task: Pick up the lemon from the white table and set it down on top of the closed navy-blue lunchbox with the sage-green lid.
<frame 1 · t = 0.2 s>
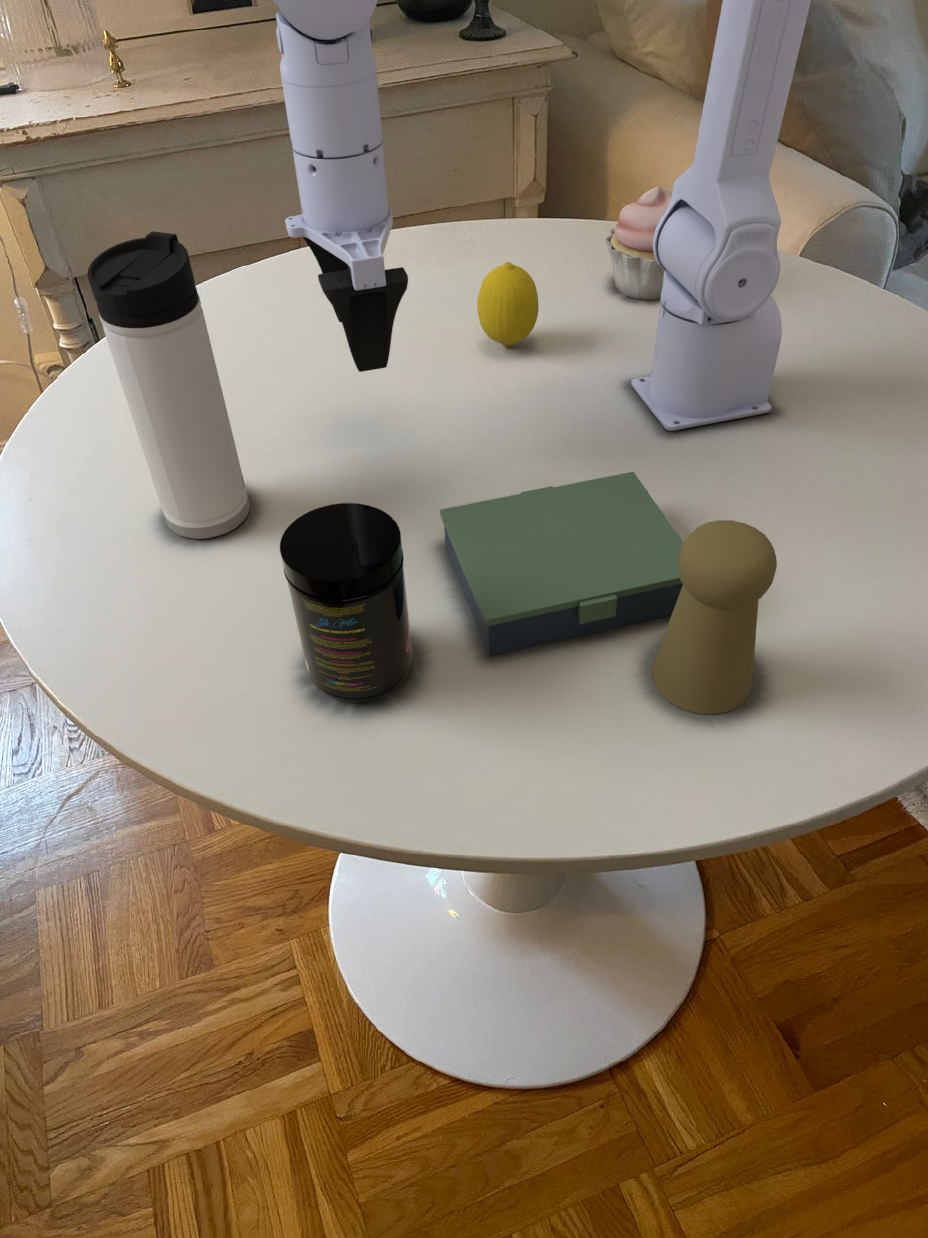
hand: (361, 342, 68), 10 cm above the table, tool pointing down, fingers open, 7 cm apart
cupcake: (646, 289, 95), on the table
lemon: (507, 348, 87), on the table
lunchbox: (563, 578, 64), on the table
travel mug: (210, 514, 71), on the table
brown pawn: (700, 678, 57), on the table
supplement container: (361, 669, 59), on the table
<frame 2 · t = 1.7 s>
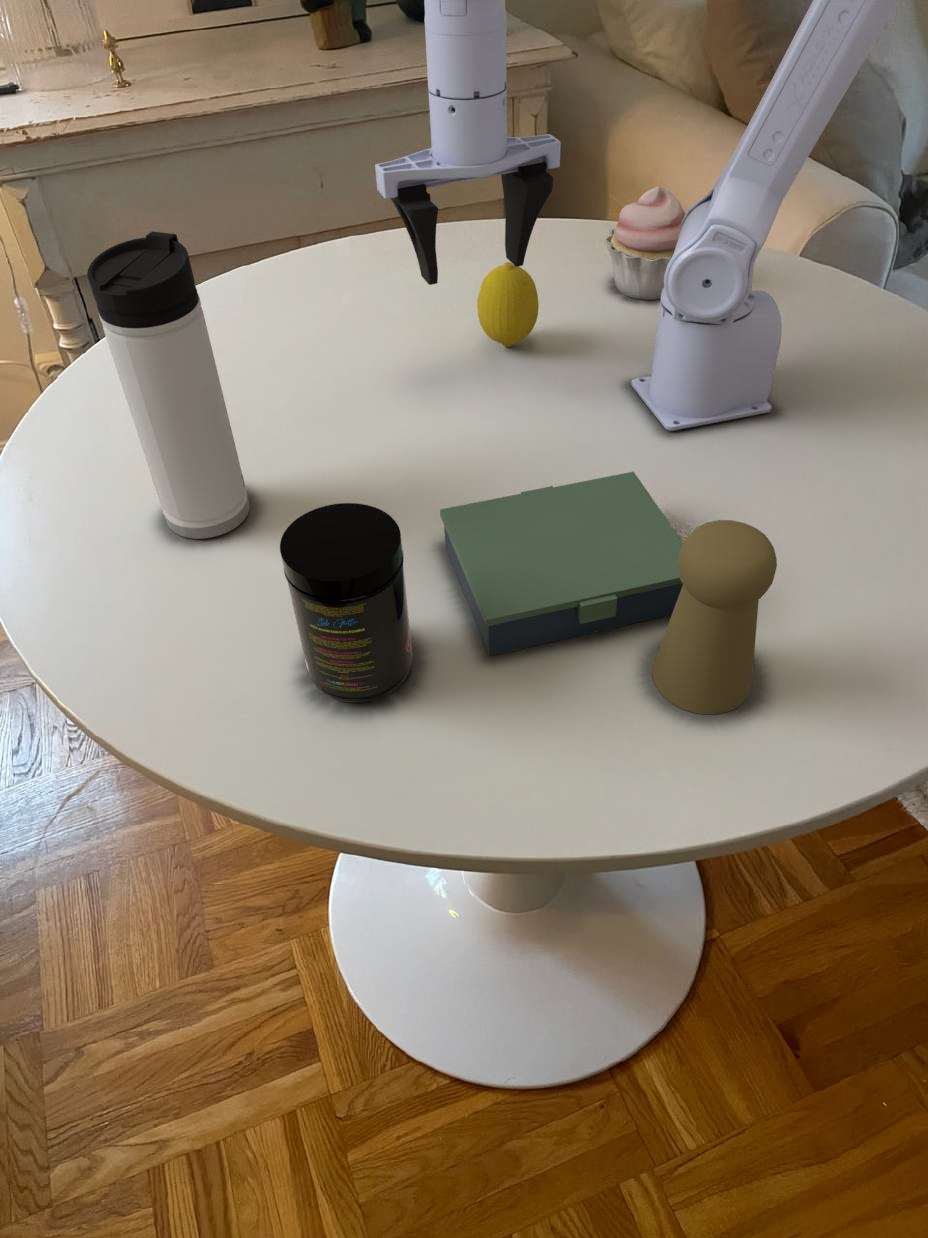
hand: (472, 270, 77), 10 cm above the table, tool pointing down, fingers open, 7 cm apart
nothing on the table moved.
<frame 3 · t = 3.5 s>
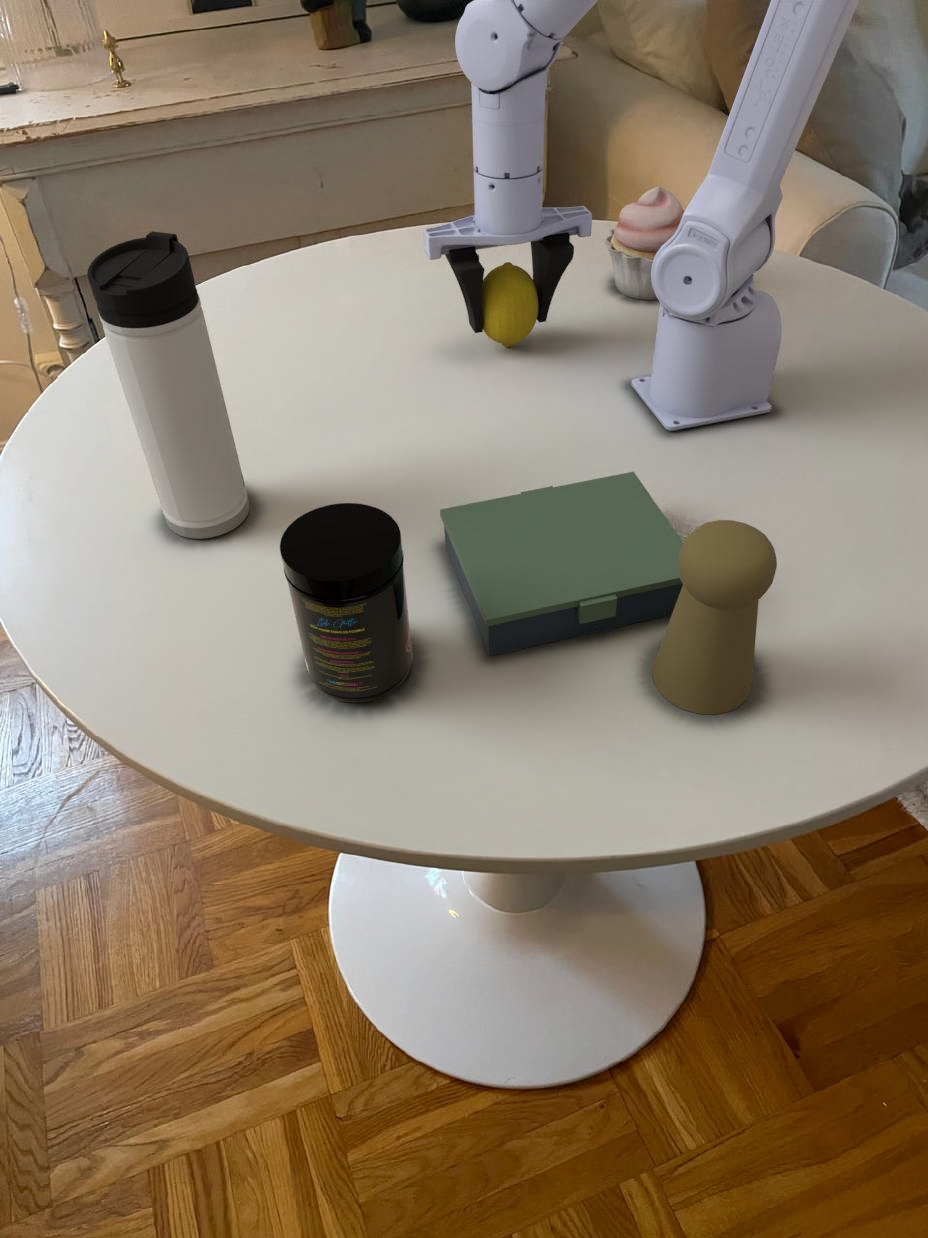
hand: (508, 322, 85), 2 cm above the table, tool pointing down, fingers closed on lemon, 5 cm apart
lemon: (507, 348, 87), on the table, touching gripper
everything else where it was.
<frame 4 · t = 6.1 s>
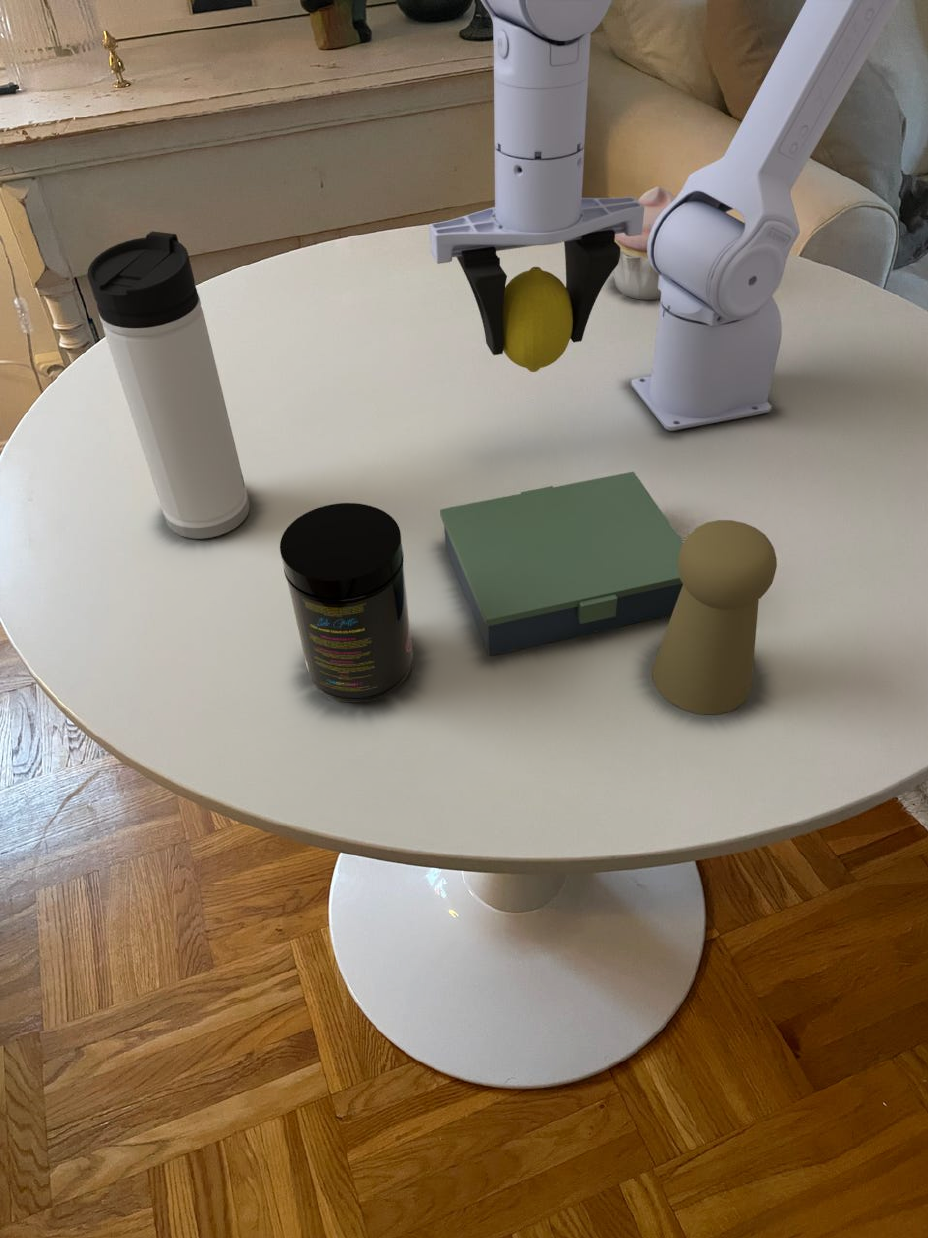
hand: (534, 341, 69), 9 cm above the table, tool pointing down, fingers closed on lemon, 5 cm apart
lemon: (533, 373, 70), point 7 cm above the table, touching gripper
everything else where it was.
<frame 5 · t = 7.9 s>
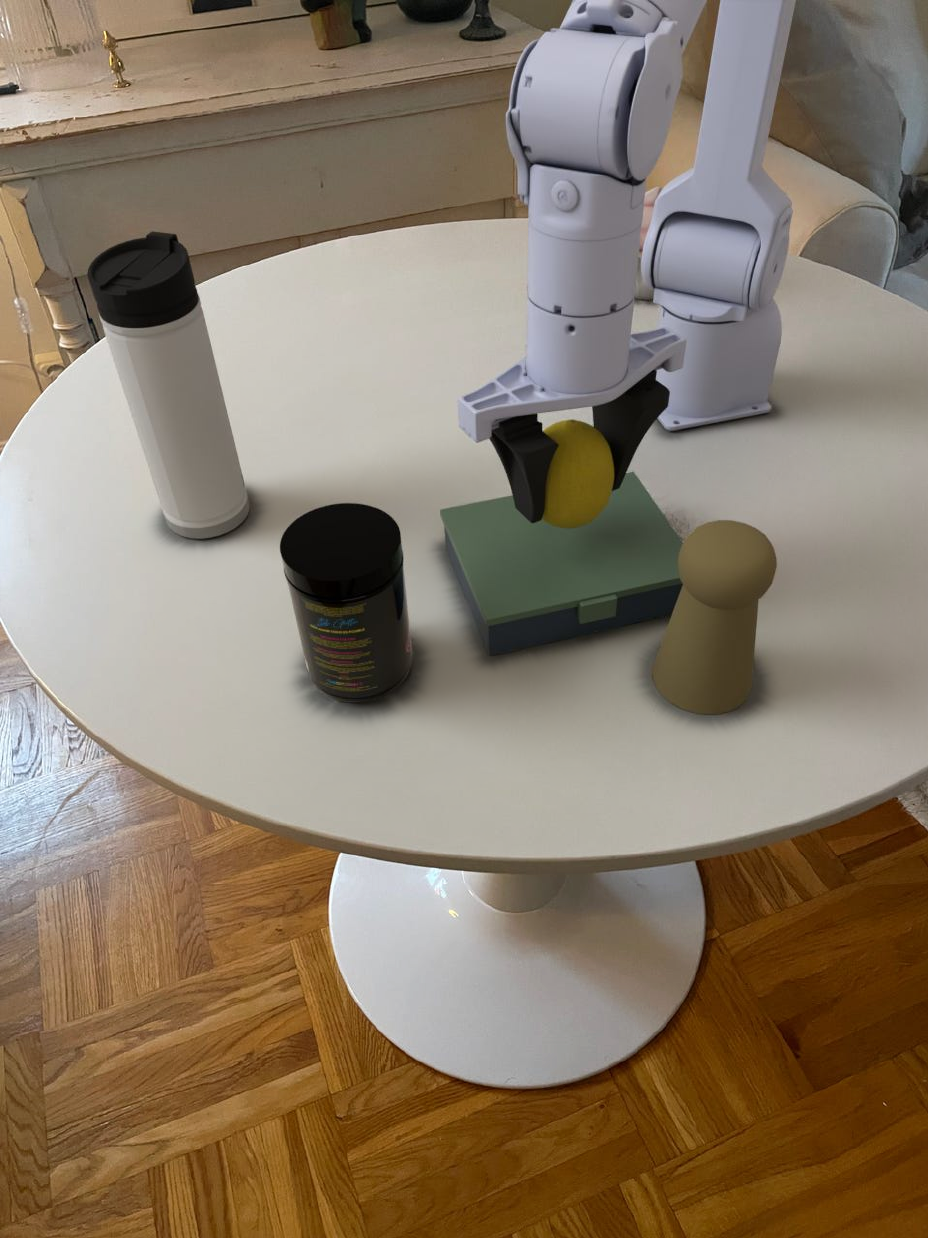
hand: (568, 497, 59), 7 cm above the table, tool pointing down, fingers closed on lemon, 5 cm apart
lemon: (566, 528, 61), point 4 cm above the table, touching gripper
everything else where it was.
when the fingers open (6 cm above the table, at t = 8.9 s): lemon stays where it is, resting on lunchbox.
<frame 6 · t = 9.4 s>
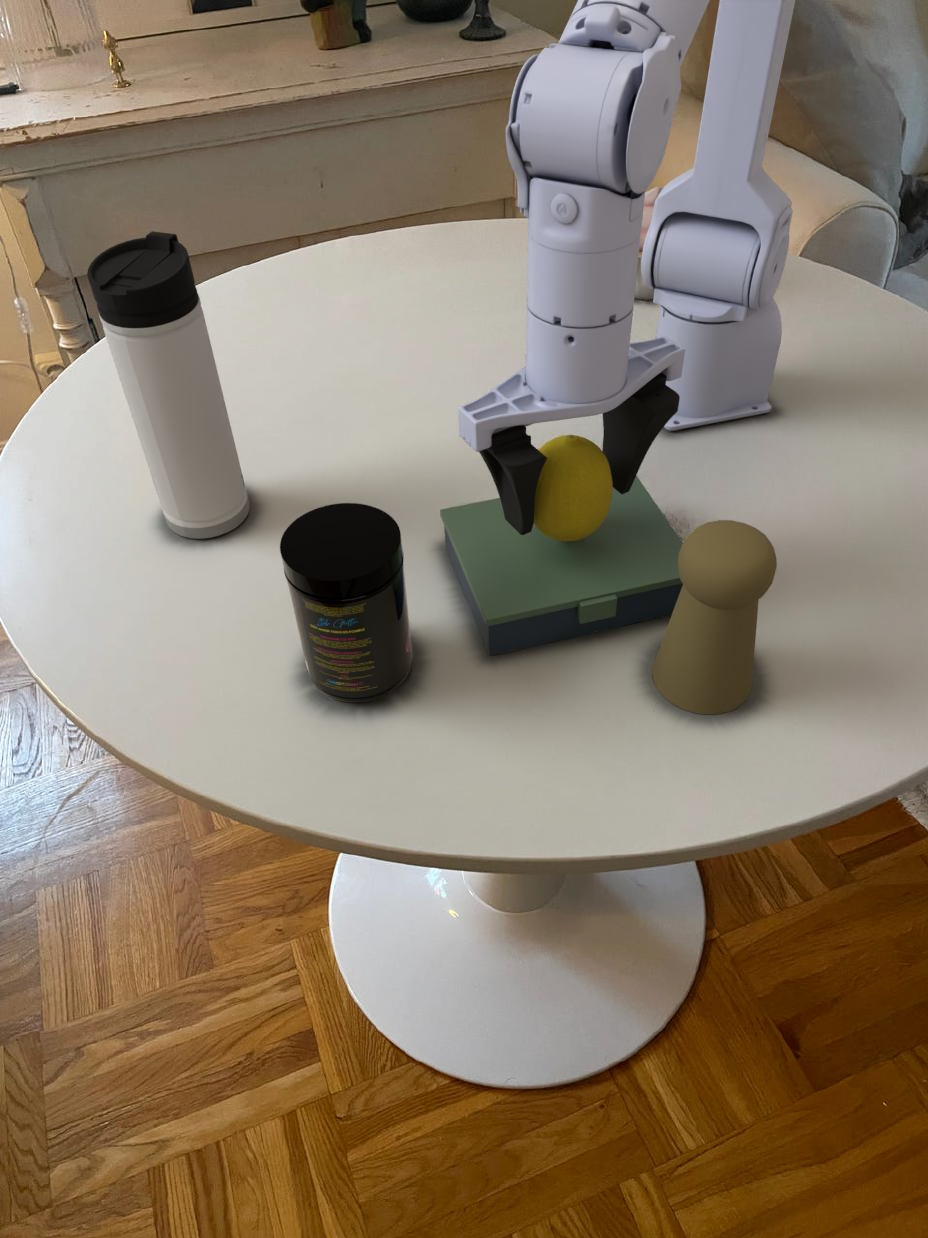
hand: (568, 504, 60), 6 cm above the table, tool pointing down, fingers open, 7 cm apart
lemon: (565, 541, 62), point 3 cm above the table, touching lunchbox
everything else where it was.
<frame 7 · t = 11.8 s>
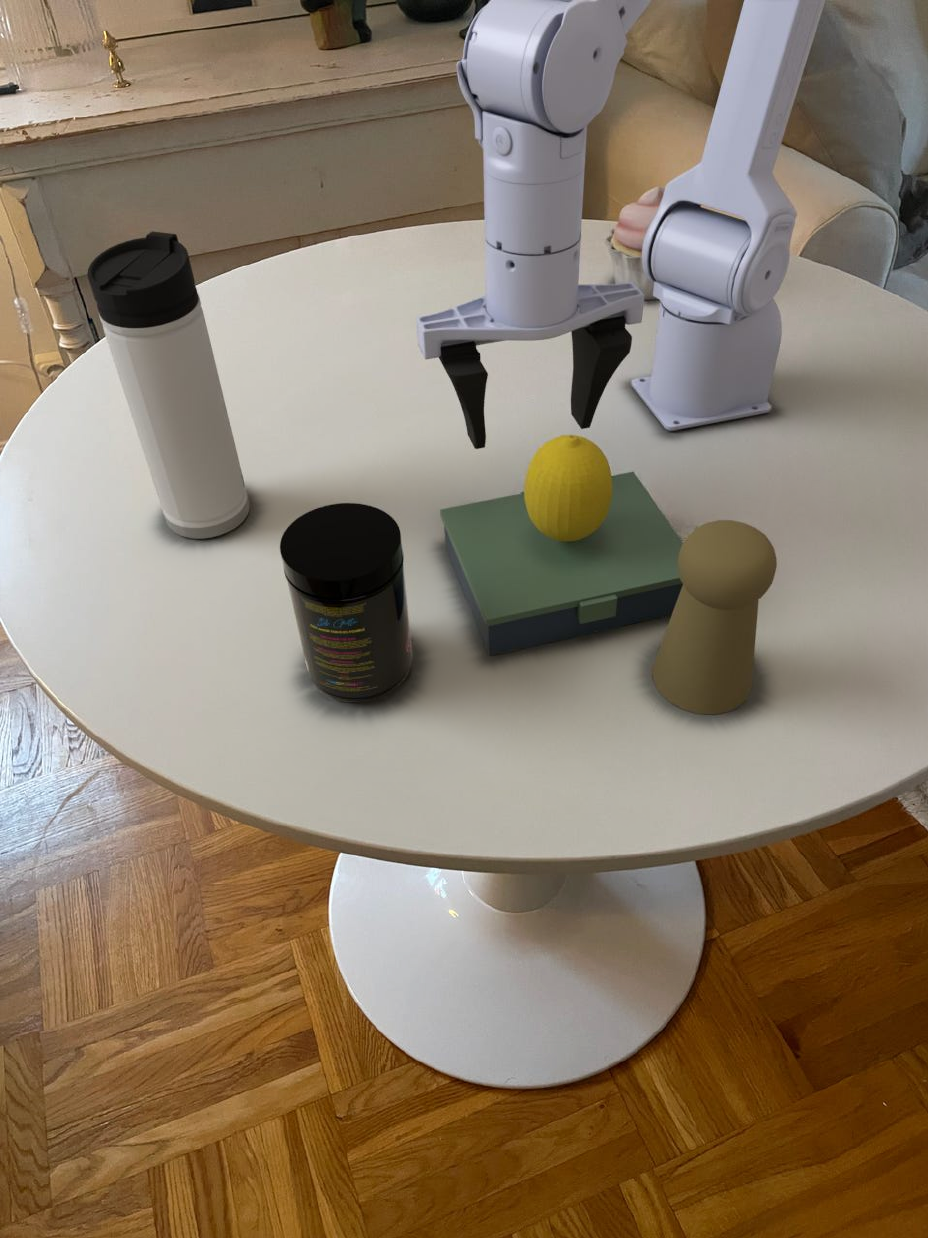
hand: (529, 430, 65), 7 cm above the table, tool pointing down, fingers open, 7 cm apart
nothing on the table moved.
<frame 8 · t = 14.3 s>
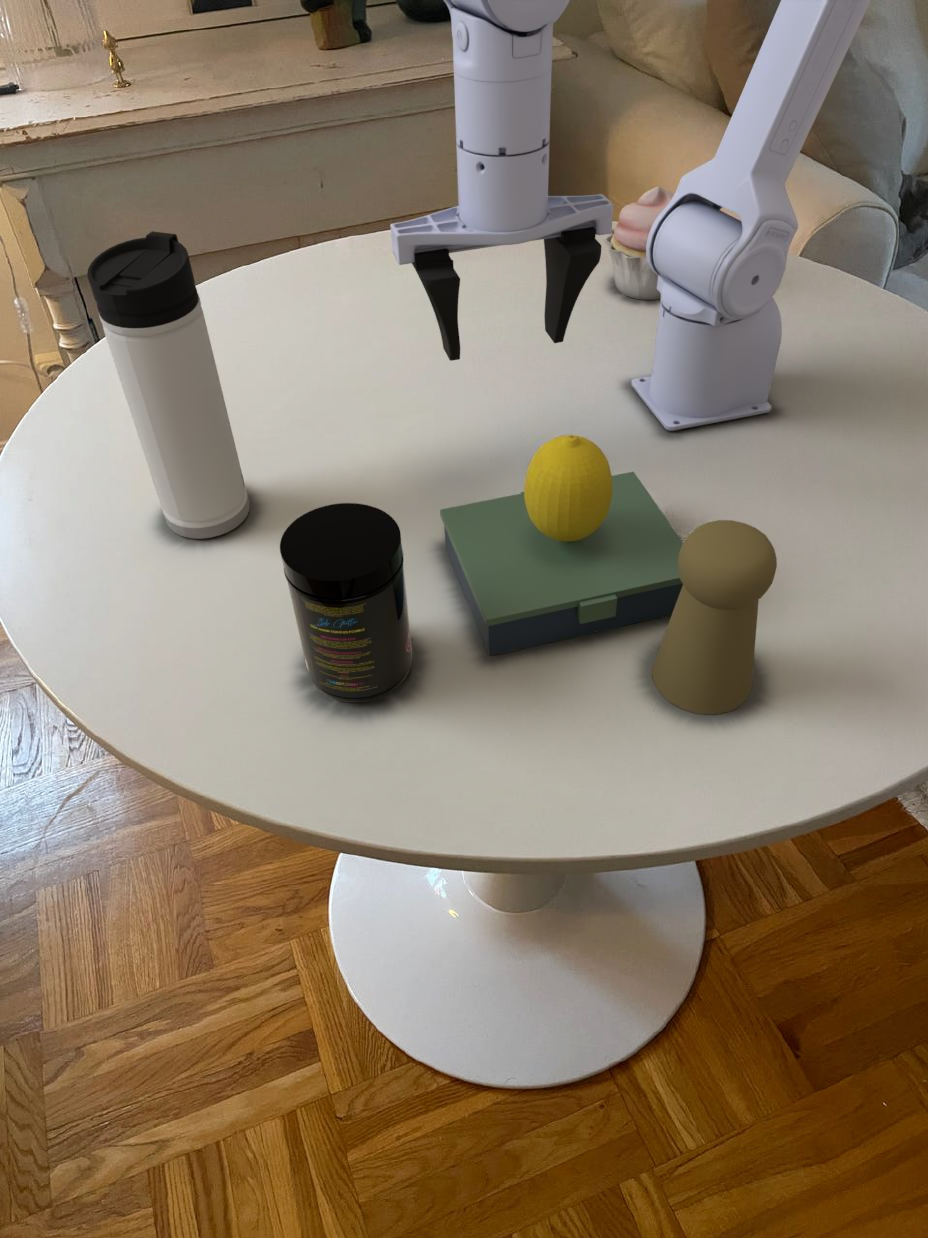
hand: (503, 344, 66), 10 cm above the table, tool pointing down, fingers open, 7 cm apart
nothing on the table moved.
at the end: lemon inside the target area on the lunchbox (0.0 cm from its centre), point 3.3 cm above the lunchbox's base; the gripper is holding nothing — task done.
